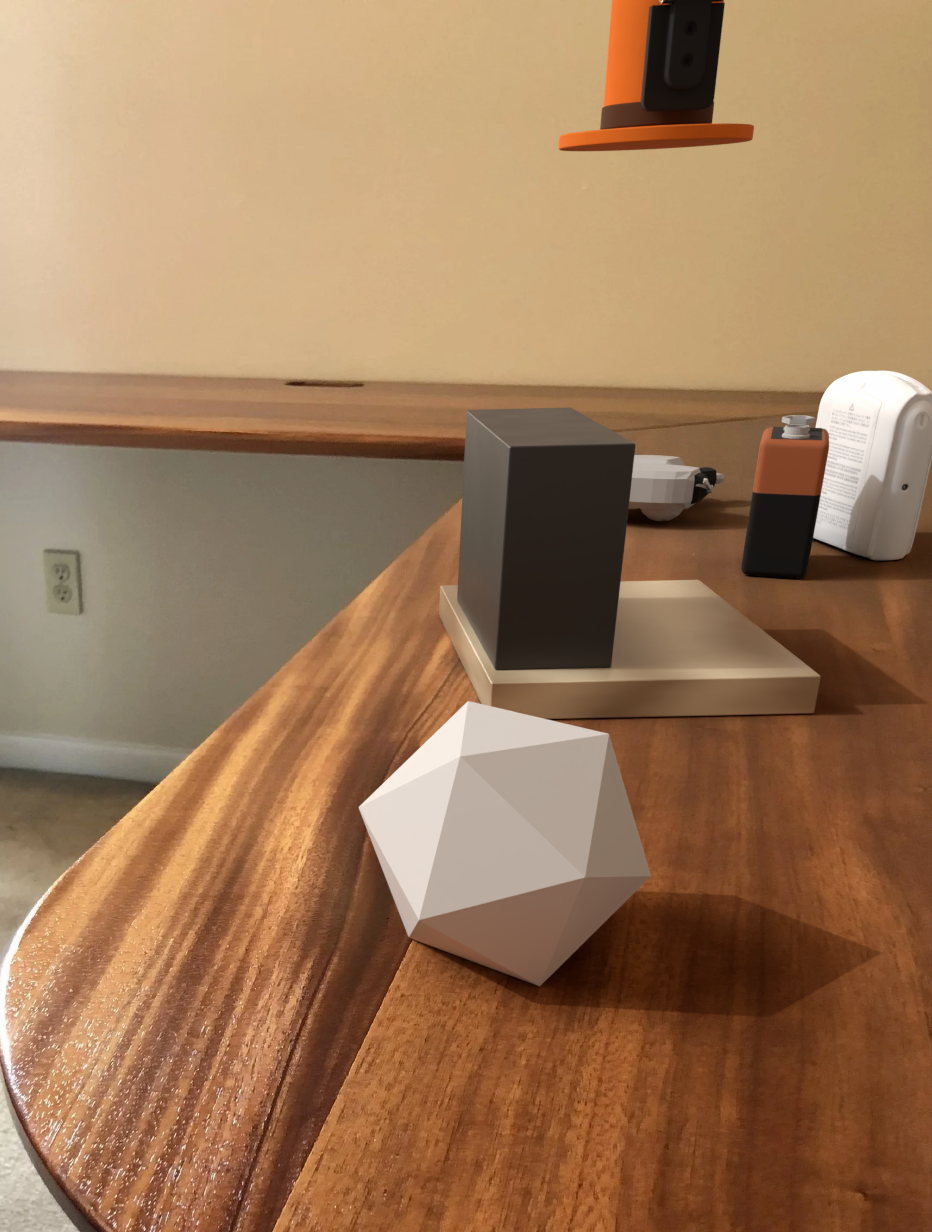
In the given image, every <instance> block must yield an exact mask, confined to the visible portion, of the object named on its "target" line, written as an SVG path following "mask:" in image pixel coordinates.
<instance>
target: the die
mask: <svg viewBox="0 0 932 1232" xmlns="http://www.w3.org/2000/svg"><path fill="white" fill-rule="evenodd" d="M358 810H359V813H360V815H361V817H362V820H363V823H364V825H365V828H366V831H367V834H368V836H369V839H370V841H371V843H372V847H373V849H374V851H375V855H376V857H377V859H378V862H379V864H380V867H381V870H382V872H383V875H384V878H385V880H386V882H387V886H388V889H389V890H390V893H391V896H392V899H393V901H394V903H395V906H396V909H397V911H398V914H399V916H400V918H401V921H402V924H403V926H404V929H405V932H406V934H407V937H408V938H409V939H411V940H414V941H416V942H420V943H422V944H424V945H427V946H430V947H432V948H435V949H438V950H441V951H444V952H446V953H449V954H452V955H454V956H457V957H460V958H463V959H464V960H467V961H469V962H472V963H476V964H478V965H481V966H484V967H487V968H488V969H491V970H495V971H497V972H500V973H502V974H505V975H508V976H510V977H513V978H516V979H519V980H522V981H524V982H527V983H529V984H531V985H535V986H537V987H541V986H542V985H543V984H544V983H545V982H546V981H547V980H548V979H549V978H550V977H551V976H552V975H553V974H554V973H555V972H556V971H557V970H558V969H560V967H561V966H562V965H563V964H564V963H565V962H566V961H567V960H568V959H570V957H571V956H572V955H573V954H574V953H575V952H576V951H577V950H579V949H580V947H581V946H582V945H583V944H584V943H585V942H587V941H588V939H589V938H591V936H592V935H593V934H594V933H596V932H597V930H599V928H600V927H601V926H603V924H605V923H606V922H607V921H608V919H610V918H611V916H612V915H614V914H615V913H616V912H617V911H618V910H619V909H620V908H621V907H622V906H623V905H624V904H625V903H626V902H627V901H628V900H629V899H630V898H631V897H632V896H633V895H634V894H635V893H636V892H637V891H638V890H639V889H640V888H641V887H642V886H643V885H644V884H645V883H646V882H647V881H648V880H649V879H650V878H651V877H652V874H651V870H650V868H649V867H650V866H649V864H648V861H647V858H646V854H645V851H644V847H643V844H642V841H641V836H640V834H639V830H638V826H637V823H636V819H635V816H634V813H633V809H632V807H631V803H630V800H629V797H628V793H627V790H626V786H625V783H624V780H623V776H622V773H621V770H620V765H619V763H618V760H617V756H616V752H615V748H614V746H613V742H612V739H611V735H610V733H607V732H603V731H598V730H595V729H590V728H585V727H581V726H577V725H573V724H569V723H565V722H559V721H557V720H553V719H543V718H539V717H535V716H530V715H526V714H522V713H517V712H513V711H509V710H505V709H500V708H496V707H492V706H488V705H483V704H481V703H479V702H475V701H471V700H467V701H466V703H464V704H463V705H462V706H461V707H460V708H459V709H458V710H457V711H456V712H455V713H454V714H453V715H452V716H451V717H450V718H449V719H448V720H447V721H445V723H444V724H443V725H441V726H440V727H439V728H438V730H437V731H436V732H435V733H433V735H431V736H430V737H429V738H428V739H427V740H426V741H425V742H424V743H423V744H422V745H421V746H420V747H419V748H418V749H417V750H416V751H415V752H413V754H411V756H410V757H408V759H406V760H405V762H403V763H402V764H401V766H399V767H398V768H397V769H396V770H395V771H394V772H393V773H392V774H391V775H390V776H389V777H388V778H387V779H386V780H385V781H384V782H383V783H382V784H381V785H379V787H378V788H377V789H376V790H374V791H373V792H372V794H370V796H368V797H367V799H365V800H364V801H363V802H362V803H361V804H360V805H359V806H358Z"/></svg>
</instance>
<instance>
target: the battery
mask: <svg viewBox="0 0 932 1232" xmlns="http://www.w3.org/2000/svg"><path fill="white" fill-rule="evenodd" d="M815 420H816V417H815V416H812V415H811V416H809V415H805V414H803V415H802V414H801V415H797V414H790V415H784V416H782V417H781V423H784V424H785V426H770V427H767V428H766V429H764V431H763V433H762V436H761V439H760V443H759V449H758V453H757V454H758V455H757V461H756V467H755V473H754V481H753V487H752V493H751V500H750V505H749V511H748V520H747V527H746V532H745V540H744V544H743V545H744V546H743V552H742V558H741V566H740V570H741V572H742V574H744V575H745V576H750V577H764V578H766V577H767V578H782V579H802V578H804V577H805V576H806V575H807V573H808V569H809V563H810V557H811V552H812V546H813V542H814V541H813V540H814V538H813V536H814V530H815V524H816V519H817V513H818V507H819V502H820V496H821V491H822V485H823V479H824V474H825V468H826V462H827V457H828V451H829V433H828V431H827V430H826V429H822V428H815V427H810V425H811V424H815V422H816V421H815Z"/></svg>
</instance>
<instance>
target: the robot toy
mask: <svg viewBox="0 0 932 1232" xmlns="http://www.w3.org/2000/svg"><path fill="white" fill-rule="evenodd" d="M724 481H725V474H723V473H718V472H717V470H716V469H715V468H714V467H709V466H703V467H697V466H689V465H686V464H685V463H684V461H683V460H682V458H681V457H679V456H673V455H657V454H635V455H634V464H633V473H632V482H631V491H630V500H629V509H640V511H641V513H642V514H643V515H644V516H645V517H646V518H648V519H649V520H651V521H655V522H666V521H671V520H673V519H675V518H677V517H678V516H679V515H680V514H681V513H682V512H683V510H687V509H689V508H691V507H692V506H694V505H695V504H698V503H700V502H701V501H702V500H704V499H705V498H706V497H707V496H708V495H709V494H714V493H713V492H714V488H715V485H718V484H721V483H723V482H724Z"/></svg>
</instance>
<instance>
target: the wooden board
mask: <svg viewBox="0 0 932 1232" xmlns="http://www.w3.org/2000/svg"><path fill="white" fill-rule="evenodd" d="M457 591H458V584H449V585H448V584H444V585H442V584H441V585H440V587H439V606H438V616H439V615H440V616H439V618H441V619H440V621H441V620H442V621H441V623H442V622H443V623H442V625H443V627H444V629H445V631H446V633H447V635H448V638H449V639H450V642H451V643H452V645H453V648H454V649H455V652H456V655H457V656H458V658H459V661H460V662H461V664H462V666H463V668H464V671H465V673H466V675H467V676H468V677H467V678H469V681H470V683H471V685H472V687H473V689H474V692H475V693H476V695H477V698H478V700H479V701H480V704H483V705H488V706H492V707H496V708H500V709H505V710H509V711H513V712H517V713H522V714H526V715H530V716H535V717H539V718H543V719H547V720H559V719H560V720H565V719H566V720H567V719H568V720H570V719H612V718H613V719H614V718H615V719H617V718H660V717H661V718H662V717H666V718H667V717H709V716H752V715H753V716H756V715H760V716H761V715H799V714H801V715H804V714H806V715H807V714H808V715H809V714H814V713H815V709H816V704H817V700H818V694H819V688H820V683H821V678H822V676H821V675H820V674H819V673H818V672H816V671H815V670H814V669H813V668H811V667H810V666H809V665H807V663H805V662H804V661H803V660H801V659H800V658H798V657H797V656H796V655H794V654H793V652H791V651H790V650H788V649H787V647H785V646H783V645H782V644H781V643H779V642H778V641H777V640H776V639H774V638H773V637H772V636H771V635H770V634H768V633H767V632H766V631H765V630H763V629H762V628H761V627H759V626H758V625H757V624H756V623H754V622H753V621H752V620H750V619H749V618H748V617H746V615H744V613H742V612H741V611H739V610H738V609H737V608H735V607H734V606H733V605H731V604H730V603H729V602H727V600H725V599H724V598H722V597H721V596H720V595H719V594H718V593H717V592H715V590H713V589H711V588H710V587H708V586H707V585H706V584H705V583H703V582H702V581H701V580H700V579H675V580H674V579H672V580H671V579H670V580H669V579H667V580H664V579H663V580H627V581H626V580H625V581H624V580H623V581H622V580H621V582H620V591H619V600H618V609H617V618H616V627H615V637H614V646H613V655H612V664H611V667H610V668H567V669H521V670H495V668H494V667H493V665H492V663H491V661H490V659H489V658H488V656H487V654H486V652H485V650H484V648H483V647H482V645H481V643H480V641H479V639H478V637H477V636H476V634H475V632H474V630H473V628H472V627H471V625H470V623H469V621H468V619H467V617H466V616H465V614H464V612H463V610H462V608H461V607H460V605H459V603H458V601H457Z"/></svg>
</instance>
